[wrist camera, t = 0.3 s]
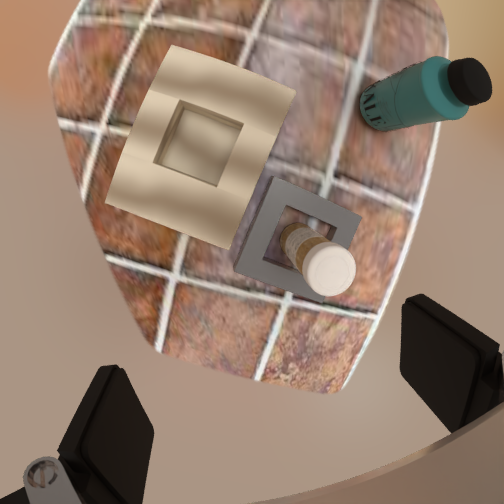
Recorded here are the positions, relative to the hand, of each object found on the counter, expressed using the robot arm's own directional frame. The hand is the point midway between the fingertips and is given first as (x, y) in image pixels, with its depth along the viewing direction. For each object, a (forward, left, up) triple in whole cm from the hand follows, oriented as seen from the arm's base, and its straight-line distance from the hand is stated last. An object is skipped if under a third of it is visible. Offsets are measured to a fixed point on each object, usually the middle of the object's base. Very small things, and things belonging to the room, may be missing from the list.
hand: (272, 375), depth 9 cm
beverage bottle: (-21, +11, -30) cm, 38 cm away
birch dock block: (-7, -7, -29) cm, 31 cm away
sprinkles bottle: (-1, +8, -30) cm, 31 cm away
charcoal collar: (-1, +8, -29) cm, 30 cm away
